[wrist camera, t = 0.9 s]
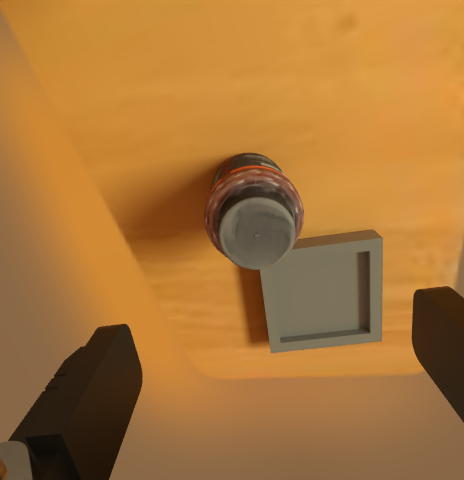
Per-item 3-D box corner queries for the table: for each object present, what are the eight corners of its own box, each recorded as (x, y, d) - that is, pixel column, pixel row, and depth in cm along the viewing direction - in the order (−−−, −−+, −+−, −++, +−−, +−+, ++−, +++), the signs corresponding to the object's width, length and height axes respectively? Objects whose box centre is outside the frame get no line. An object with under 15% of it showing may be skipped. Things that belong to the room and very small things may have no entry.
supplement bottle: (219, 228, 29) (208, 295, 18) (206, 158, 27) (184, 188, 16) (289, 217, 28) (319, 279, 18) (281, 145, 26) (309, 167, 16)
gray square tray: (256, 244, 29) (257, 253, 28) (373, 229, 29) (382, 237, 27) (268, 339, 33) (270, 353, 31) (373, 327, 32) (381, 341, 30)
